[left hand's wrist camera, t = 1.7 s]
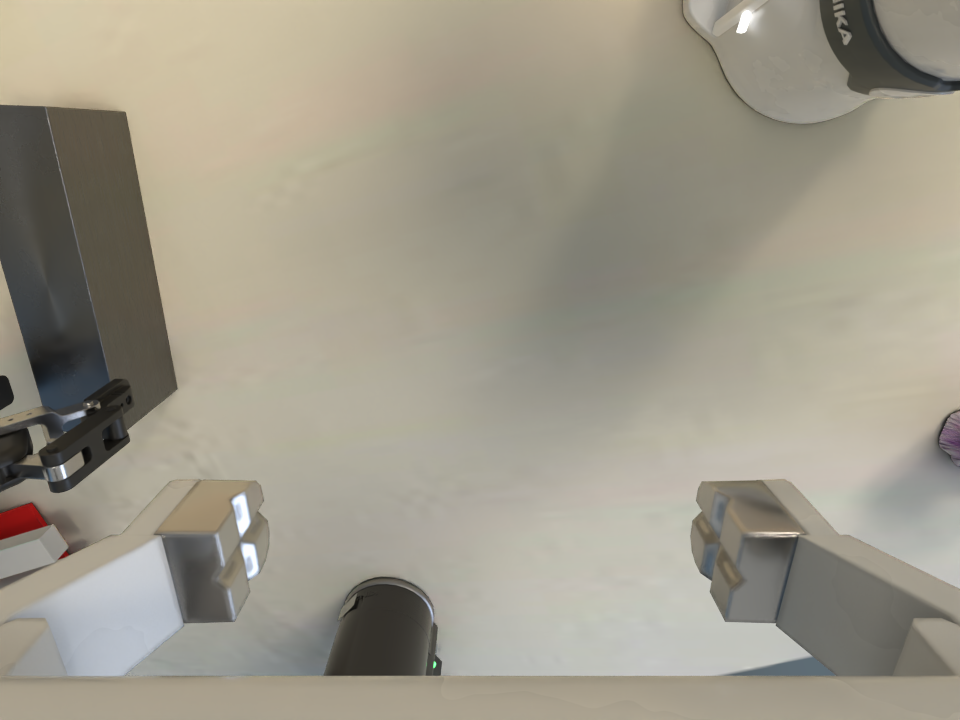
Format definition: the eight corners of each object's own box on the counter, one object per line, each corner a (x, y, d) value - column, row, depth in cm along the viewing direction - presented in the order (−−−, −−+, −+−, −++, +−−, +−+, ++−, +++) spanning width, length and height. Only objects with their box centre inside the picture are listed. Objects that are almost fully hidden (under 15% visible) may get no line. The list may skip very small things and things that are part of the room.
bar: (50, 109, 41) (-46, 103, 33) (125, 111, 41) (45, 106, 33) (115, 387, 49) (49, 431, 42) (177, 389, 49) (122, 433, 42)
